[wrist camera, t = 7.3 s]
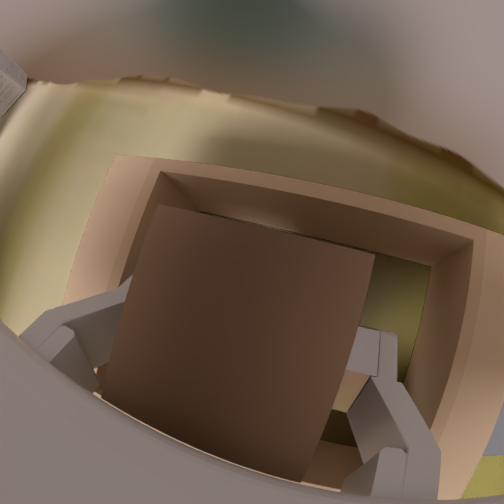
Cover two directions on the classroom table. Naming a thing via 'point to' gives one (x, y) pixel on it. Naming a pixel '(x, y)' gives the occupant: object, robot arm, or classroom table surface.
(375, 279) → the classroom table surface
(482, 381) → the carton
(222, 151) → the classroom table surface
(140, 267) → the walnut block
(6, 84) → the small box
